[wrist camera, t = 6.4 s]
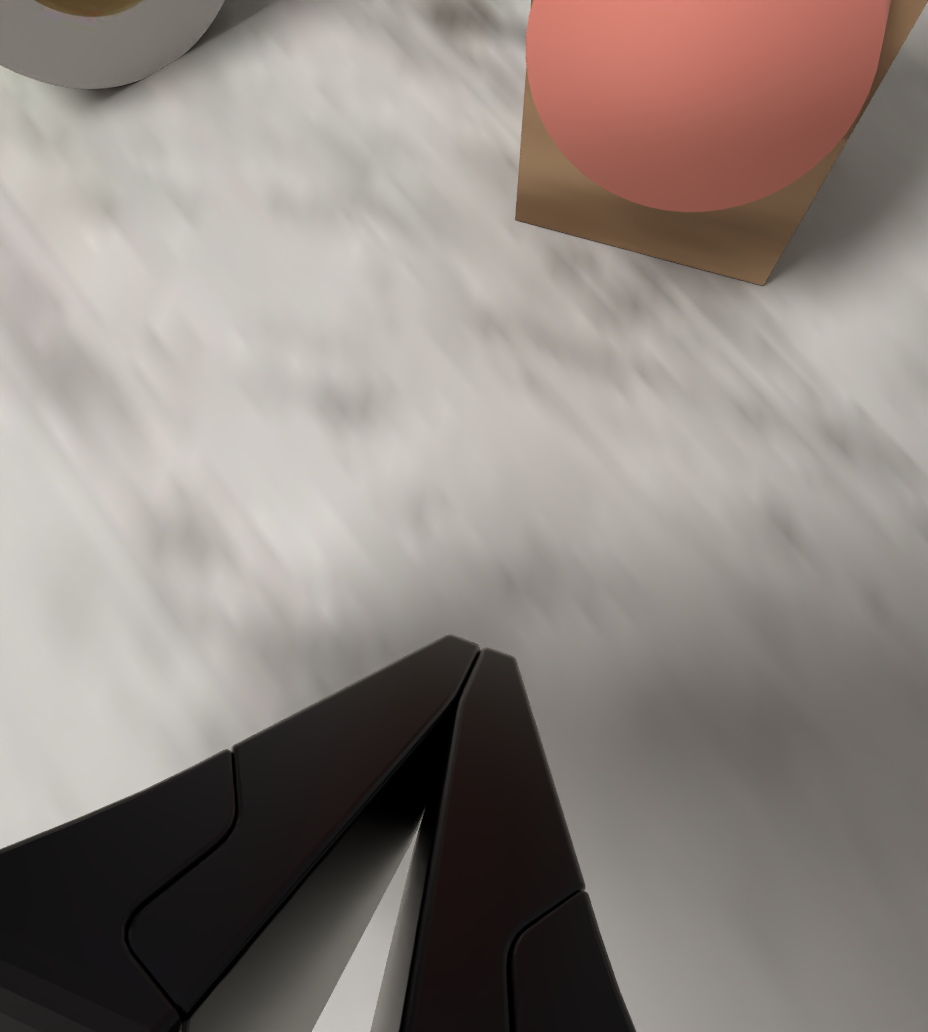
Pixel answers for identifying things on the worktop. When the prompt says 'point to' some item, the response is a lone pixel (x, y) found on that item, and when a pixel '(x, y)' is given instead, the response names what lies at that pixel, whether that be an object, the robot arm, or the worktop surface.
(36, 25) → the toilet paper
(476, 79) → the worktop surface
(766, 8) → the knob
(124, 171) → the worktop surface
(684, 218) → the catch block
